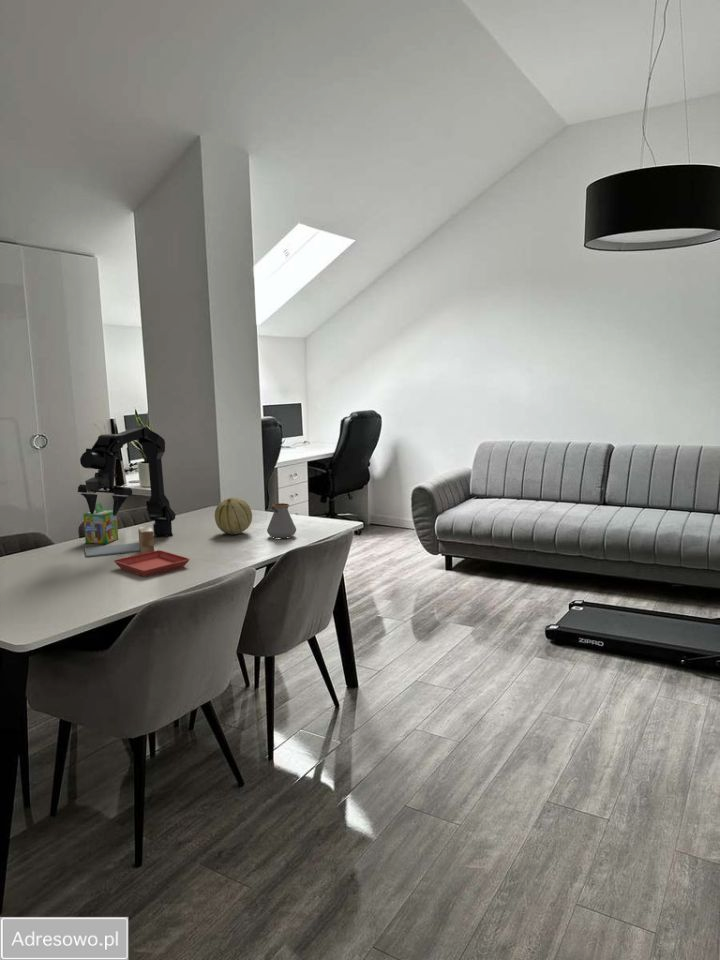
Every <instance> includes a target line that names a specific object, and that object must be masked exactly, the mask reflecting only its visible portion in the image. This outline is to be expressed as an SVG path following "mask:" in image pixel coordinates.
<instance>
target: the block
mask: <svg viewBox="0 0 720 960" xmlns="http://www.w3.org/2000/svg"><path fill="white" fill-rule="evenodd" d="M154 540H155V539H154V534H153V528H152V527H151V526H142V527H141V526H140V527H138V543H139V547H140V552H139V554H144V553H148V552H153V551H155V543H154V542H155V541H154Z"/></svg>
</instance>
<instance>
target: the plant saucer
mask: <svg viewBox="0 0 720 960" xmlns="http://www.w3.org/2000/svg"><path fill="white" fill-rule="evenodd" d="M190 560H191V559H190V558H188V557H185V556H182V555H178V554H175V553H172V552H167V551H164V550H160V549H158V550H154V551H153V552H148V553H144V554H141V553H139V554H135V555H132V556H130V555H129V556H126V557H123V558H118V559H114V560H113V562H114V563H115V565H116V566H118V567H119V569H121V570H123V569H124V570H123V571H126V570H127V571H126V572H129V571H130V572H131V573H132V572H133V573H132V574H135V573H136V575H138V576H142V577H145V576H146V577H149V576H150V575H151V576H154V575H157V574H162V573H165V572H169V571H174V570H178V569H182V568H183V567H185V566H186V565H187V564H188V563H189V562H190Z"/></svg>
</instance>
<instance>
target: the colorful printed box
mask: <svg viewBox="0 0 720 960" xmlns="http://www.w3.org/2000/svg"><path fill="white" fill-rule="evenodd" d="M102 505H103V504H102V503H101V502H98V503H97V502H96V505H95V510H94V513H93V514H91V513H90V511H88V512H86V513H83V523H84V524H83V525H84V527H83V528H84V537H85V544H86V543H94V544H97V545H98V544H100V545H102V544H104V545H107V544H110V543H112V542H115V541H117V540H119V530H118V529H119V528H118V513H117V514H116V516H113V510H108V509H103V506H102ZM98 507H99V508H100V509H98Z"/></svg>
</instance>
